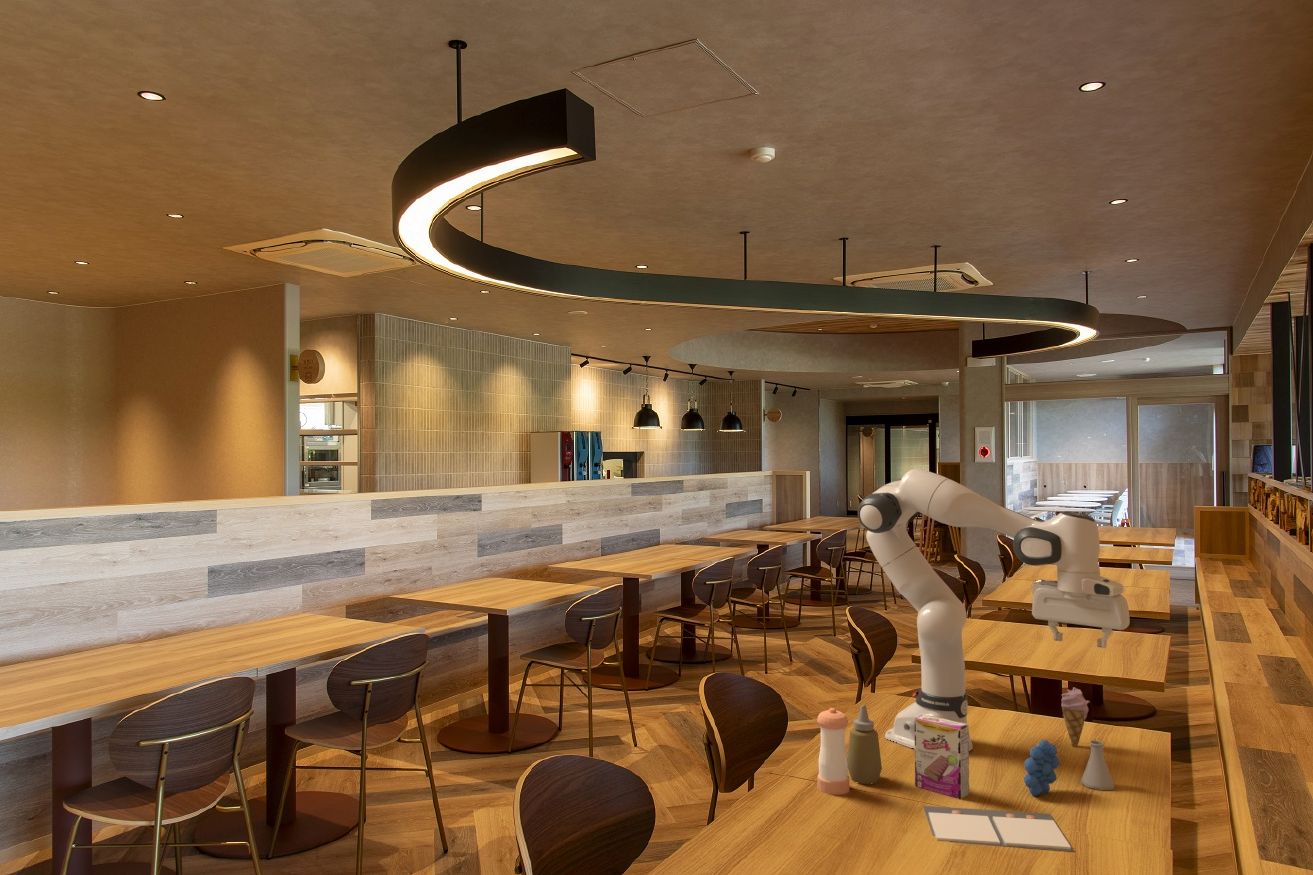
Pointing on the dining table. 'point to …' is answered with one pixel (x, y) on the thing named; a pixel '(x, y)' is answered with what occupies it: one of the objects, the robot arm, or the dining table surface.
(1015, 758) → the dining table surface
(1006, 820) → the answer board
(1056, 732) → the dining table surface
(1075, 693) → the ice cream cone
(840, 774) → the pepper shaker
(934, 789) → the candy bar box
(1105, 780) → the flask
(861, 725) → the squeeze bottle
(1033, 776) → the grapes
